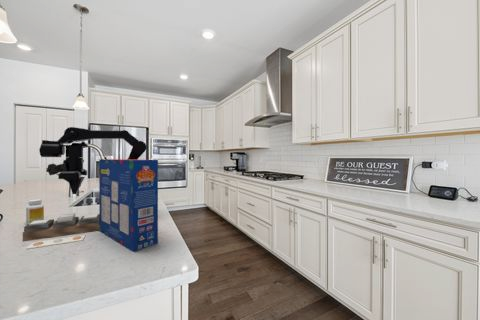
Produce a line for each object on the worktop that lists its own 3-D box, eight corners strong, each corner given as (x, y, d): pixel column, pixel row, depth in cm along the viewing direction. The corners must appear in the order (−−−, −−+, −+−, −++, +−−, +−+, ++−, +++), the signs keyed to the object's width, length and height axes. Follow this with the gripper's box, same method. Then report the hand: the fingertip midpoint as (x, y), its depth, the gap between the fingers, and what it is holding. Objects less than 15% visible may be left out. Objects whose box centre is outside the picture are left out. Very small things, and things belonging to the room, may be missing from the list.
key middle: (75, 218, 79) (75, 213, 79) (72, 221, 76) (72, 216, 76) (60, 220, 77) (60, 214, 77) (57, 223, 73) (57, 217, 73)
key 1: (50, 224, 76) (50, 219, 76) (45, 228, 72) (45, 222, 72) (34, 226, 74) (34, 220, 74) (28, 230, 70) (28, 224, 70)
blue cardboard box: (157, 243, 67) (157, 159, 67) (133, 252, 61) (133, 159, 60) (121, 225, 84) (121, 159, 84) (99, 231, 78) (99, 159, 78)
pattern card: (85, 235, 73) (85, 234, 73) (82, 240, 69) (82, 239, 69) (33, 243, 67) (33, 241, 67) (26, 249, 62) (26, 247, 62)
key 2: (98, 219, 83) (98, 213, 83) (96, 222, 79) (96, 216, 79) (85, 220, 81) (85, 215, 81) (82, 223, 77) (82, 218, 77)
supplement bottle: (47, 220, 91) (47, 199, 91) (33, 224, 85) (33, 201, 85) (36, 220, 91) (36, 198, 91) (22, 223, 86) (22, 201, 86)
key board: (101, 225, 85) (101, 213, 85) (99, 230, 79) (99, 218, 79) (31, 234, 74) (31, 221, 74) (22, 241, 68) (22, 227, 68)
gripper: (56, 157, 90) (56, 192, 90) (40, 157, 73) (40, 199, 73) (87, 157, 95) (87, 190, 95) (78, 157, 79) (78, 197, 79)
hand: (74, 194), depth 85 cm, fingers closed
